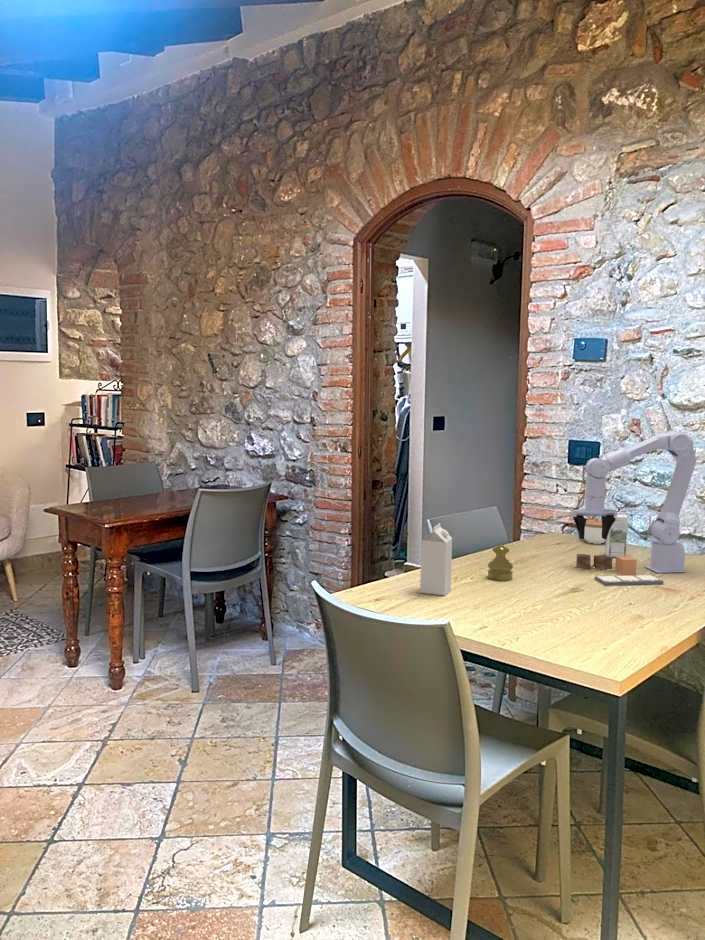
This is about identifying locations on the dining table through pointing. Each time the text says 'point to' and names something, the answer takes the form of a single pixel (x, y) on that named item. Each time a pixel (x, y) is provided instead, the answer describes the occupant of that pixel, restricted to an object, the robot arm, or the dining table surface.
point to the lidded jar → (593, 531)
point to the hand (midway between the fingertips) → (592, 538)
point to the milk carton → (436, 562)
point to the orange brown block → (625, 565)
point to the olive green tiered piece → (500, 565)
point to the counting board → (629, 580)
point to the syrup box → (617, 537)
